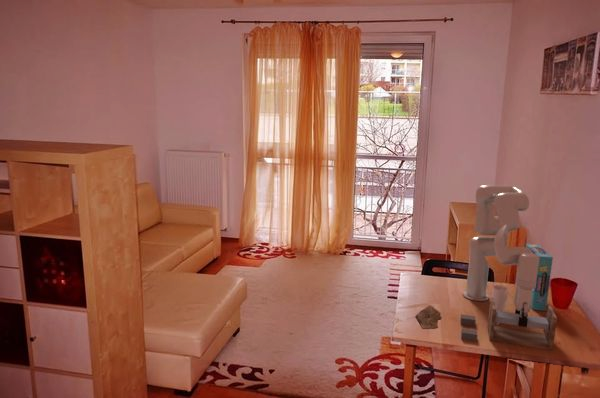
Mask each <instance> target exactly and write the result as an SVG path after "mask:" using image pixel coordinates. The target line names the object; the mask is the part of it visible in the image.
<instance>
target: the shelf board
mask: <svg viewBox="0 0 600 398" xmlns="http://www.w3.org/2000/svg"><path fill="white" fill-rule="evenodd" d="M519 316H520V314H515V312H514V313H513V312H507V311H504V312H501V311H496V316H495V322H498V323H499V324H506V325H514V326H518V322H519ZM526 328H534V329H539V330H544V329H545V330H548V328H549V323H548V321H547V319H546V317H543V316H536V315H535V316H534V315H529V314H528V322H527V327H526Z"/></svg>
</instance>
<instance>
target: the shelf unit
mask: <svg viewBox="0 0 600 398" xmlns="http://www.w3.org/2000/svg"><path fill="white" fill-rule="evenodd" d="M495 316H496V306H495V302H494V298H491V297H490V300H489V308H488V318H487V328H486V329H487V333H488V340H489V341H491V342H498V343H504V344H509V345H515V346H516V345H517V346H522V347H528V348H529V347H530V348H535V349H539V350H540V349H542V350H548V351H553V349H554V344H555V336H556V330H557V322H558V317H557V315H556V313H555V311H554V309H553V306H551V305H547V307H546V316H545V318H546V319H547V321H548V323H549V328H548V330H545V329H543V332H536V331H532V330H525V329H524V330H523V329H518V328H517V329H516V328H512V327H506V326H505V327H503V326H499V325H500V323H498V322H495Z"/></svg>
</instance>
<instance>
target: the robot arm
mask: <svg viewBox="0 0 600 398" xmlns="http://www.w3.org/2000/svg"><path fill="white" fill-rule="evenodd" d="M475 203H476V209H475V211H476V212H475V219H474V226H473V227H474V231H475V234H477V235H480V236H474V237H472V238H470V239H469V241H468V253H469V257H468V269H467V278H466V289H464V290H463V291H462V296H463V297H464V298H465V299H468V300H471V301H475V302H485V301H488V300H489V298H490V296H489V294H488V293H487V286H488V277H489V269H490V264H489V261H488V260H487V259H486V257H491V256H492V257H494V256H495V257H496V258H497V260H498V262H499V263H500V264H501V265H503V266H516V267H517V268H516V275H515V282H514V283H515V284H514V285H515V286H516V288H515V293H514V299H513V304H514V307H515V310H514V311H515V312H514V313H515V314H520V316H519V322H518V325H517V326H518V327H522V328H528V327H527V322H528V315H529V312H530V311H531V298H532V289H535V287H536V279H537V272H538V265H539V257H538V256H537V255H536V254H534V253H533V252H532V251H531V250H530V249H529V248H526V246H524V247H523V246H520V247H519V246H507V244H508V237H509V233H511V232H513V231H515V230H517V229H518V228H520V227H521V226H522V221H521V218H520V214H519V212H526V211H527V210H528V209H529V207H530V199H529V197H528V195H527V194H526V193H525V192H524V191H522V190H521V189H519V188H518V187H517V186H514V185H509V184H501V185H500V184H484V185H483V184H482V185H480V186H478V188H477V189H476V191H475ZM496 214H497V215H496Z"/></svg>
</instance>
